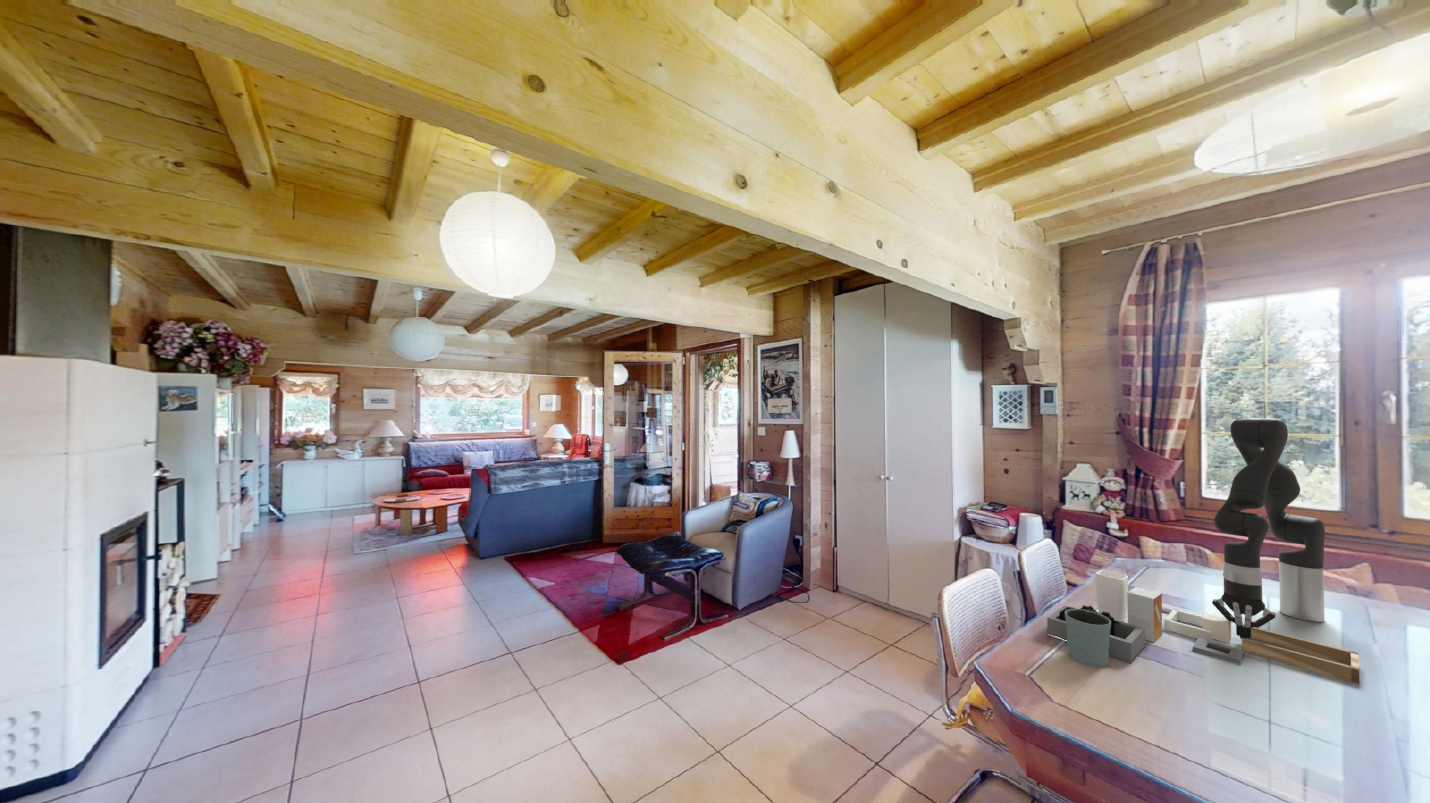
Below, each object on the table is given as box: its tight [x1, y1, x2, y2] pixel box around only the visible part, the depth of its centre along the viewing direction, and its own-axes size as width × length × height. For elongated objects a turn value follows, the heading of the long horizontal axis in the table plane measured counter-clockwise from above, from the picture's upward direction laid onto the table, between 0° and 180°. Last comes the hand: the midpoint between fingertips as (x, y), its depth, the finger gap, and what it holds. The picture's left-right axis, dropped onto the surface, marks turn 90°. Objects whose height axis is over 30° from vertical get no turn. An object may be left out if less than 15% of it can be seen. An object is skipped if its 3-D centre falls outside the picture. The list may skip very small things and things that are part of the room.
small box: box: [1127, 586, 1163, 643], centre depth 142 cm, size 8×6×13 cm
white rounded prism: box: [1095, 569, 1129, 622], centre depth 153 cm, size 7×7×15 cm
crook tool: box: [1162, 606, 1174, 614], centre depth 154 cm, size 4×13×1 cm, turn 44°
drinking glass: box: [1065, 608, 1111, 668], centre depth 129 cm, size 10×10×12 cm
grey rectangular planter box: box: [1046, 605, 1146, 664], centre depth 139 cm, size 15×20×6 cm
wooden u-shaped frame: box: [1241, 627, 1361, 685], centre depth 129 cm, size 13×20×4 cm
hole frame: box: [1192, 637, 1245, 665], centre depth 132 cm, size 9×9×1 cm
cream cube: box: [1201, 612, 1232, 644], centre depth 141 cm, size 6×6×6 cm
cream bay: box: [1163, 608, 1213, 641], centre depth 145 cm, size 13×10×3 cm
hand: (1243, 638), depth 137 cm, fingers closed
